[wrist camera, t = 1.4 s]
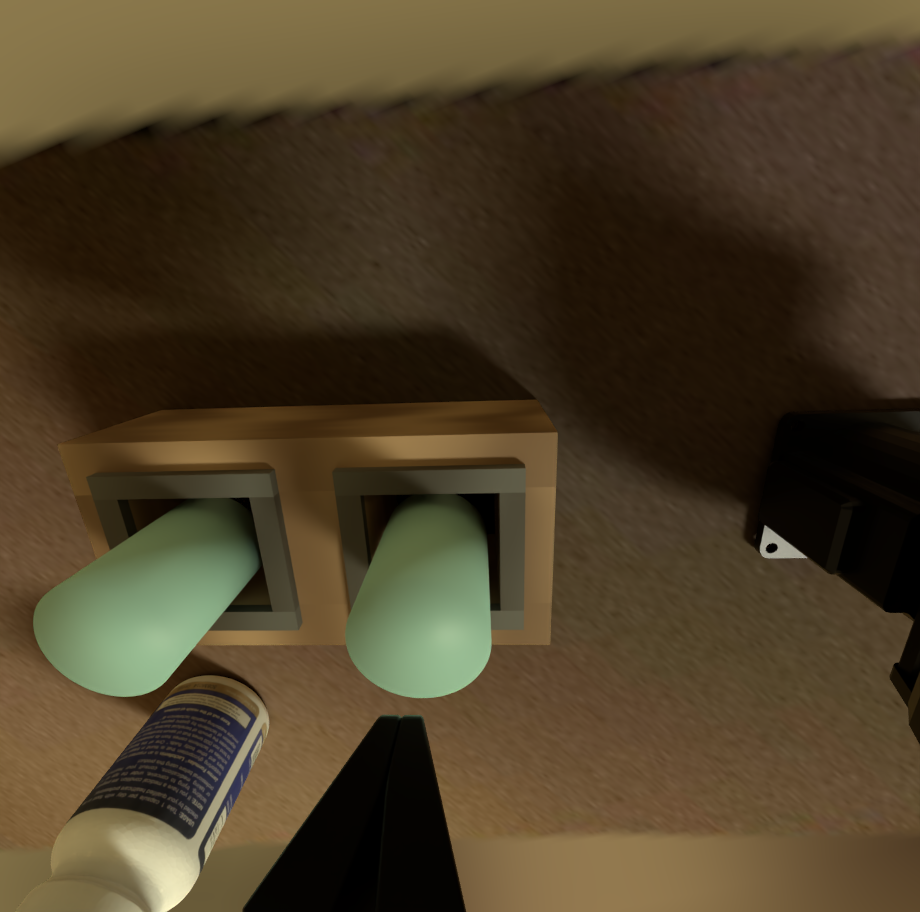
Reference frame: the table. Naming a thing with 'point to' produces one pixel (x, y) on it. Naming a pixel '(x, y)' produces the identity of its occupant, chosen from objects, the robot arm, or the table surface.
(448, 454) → the socket block
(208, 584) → the plunger
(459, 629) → the plunger
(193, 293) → the table surface
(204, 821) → the pill bottle
